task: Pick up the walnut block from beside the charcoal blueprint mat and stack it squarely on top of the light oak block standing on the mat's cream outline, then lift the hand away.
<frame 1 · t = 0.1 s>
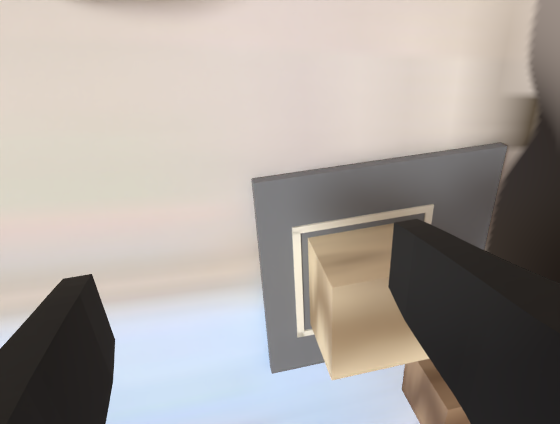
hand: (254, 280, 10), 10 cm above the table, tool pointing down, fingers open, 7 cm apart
oak block: (361, 273, 24), resting on blueprint mat
walnut block: (434, 360, 30), on the table
blueprint mat: (374, 265, 25), on the table
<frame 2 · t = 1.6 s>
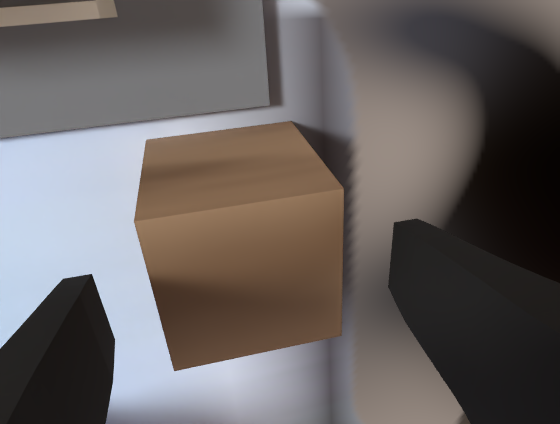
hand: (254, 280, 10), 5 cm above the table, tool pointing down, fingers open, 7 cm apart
walnut block: (228, 193, 15), on the table
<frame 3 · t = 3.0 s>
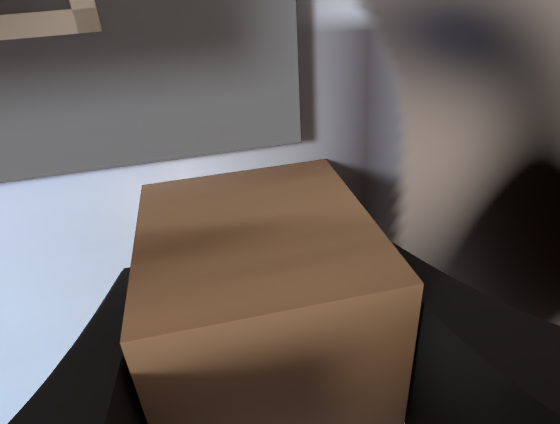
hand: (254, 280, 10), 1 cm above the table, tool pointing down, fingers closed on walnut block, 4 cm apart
walnut block: (245, 247, 12), on the table, touching gripper
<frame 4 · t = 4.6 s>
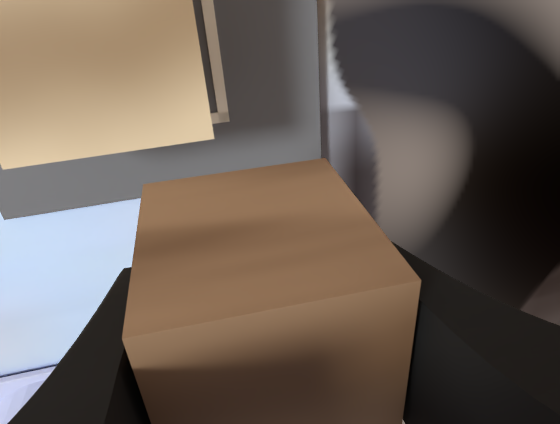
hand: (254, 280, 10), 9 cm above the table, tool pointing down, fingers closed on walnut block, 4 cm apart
oak block: (102, 27, 15), resting on blueprint mat
walnut block: (246, 245, 12), point 7 cm above the table, touching gripper
blueprint mat: (133, 22, 15), on the table
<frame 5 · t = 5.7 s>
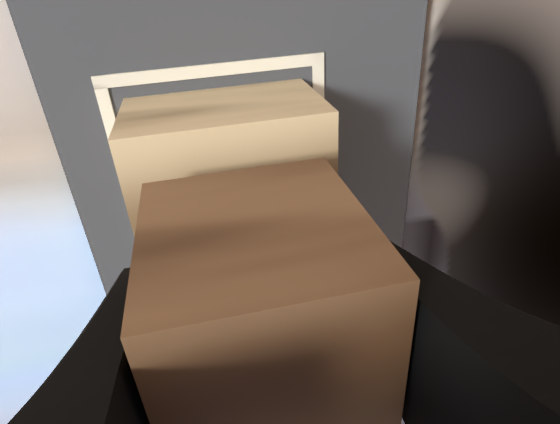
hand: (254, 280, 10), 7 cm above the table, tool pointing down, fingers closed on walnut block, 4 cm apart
oak block: (225, 169, 16), resting on blueprint mat
walnut block: (245, 245, 12), point 6 cm above the table, touching gripper
blueprint mat: (250, 160, 17), on the table
when the fingers open (7 cm above the table, at t = 6.3 s): walnut block drops 1 cm, resting on oak block.
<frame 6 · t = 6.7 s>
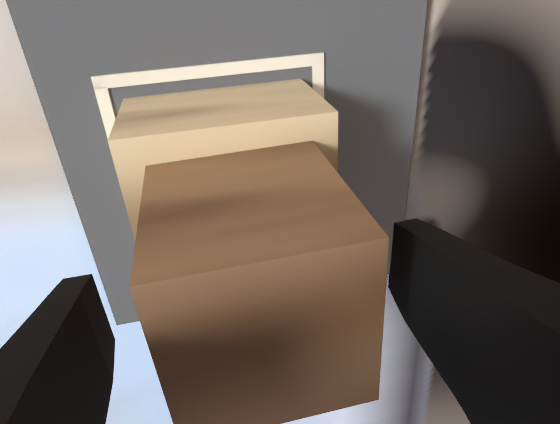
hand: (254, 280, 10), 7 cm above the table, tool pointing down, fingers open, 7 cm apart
oak block: (225, 169, 16), resting on blueprint mat, touching walnut block
walnut block: (241, 223, 13), point 4 cm above the table, touching oak block
blueprint mat: (250, 160, 17), on the table
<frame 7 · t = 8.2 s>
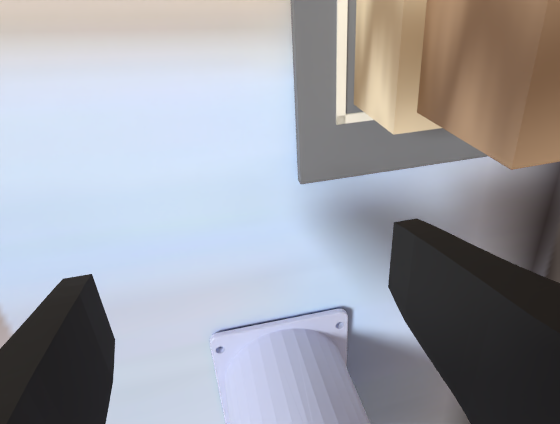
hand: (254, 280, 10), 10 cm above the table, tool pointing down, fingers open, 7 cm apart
oak block: (425, 23, 18), resting on blueprint mat, touching walnut block
walnut block: (485, 37, 14), point 4 cm above the table, touching oak block
blueprint mat: (441, 19, 18), on the table
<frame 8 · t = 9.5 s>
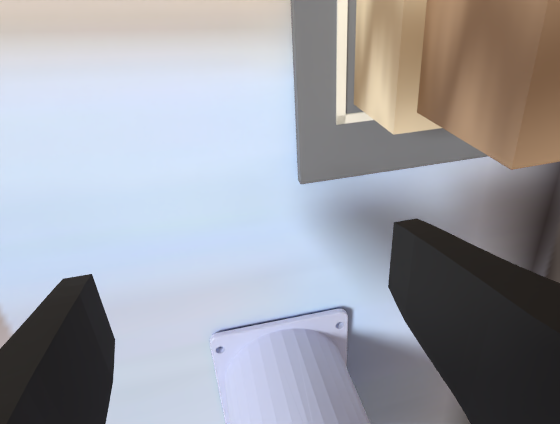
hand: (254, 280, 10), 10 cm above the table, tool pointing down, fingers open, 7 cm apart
oak block: (425, 23, 18), resting on blueprint mat, touching walnut block
walnut block: (485, 37, 14), point 4 cm above the table, touching oak block
blueprint mat: (441, 19, 18), on the table
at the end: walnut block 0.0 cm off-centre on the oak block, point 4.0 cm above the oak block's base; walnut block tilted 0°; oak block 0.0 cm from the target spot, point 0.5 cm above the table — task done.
